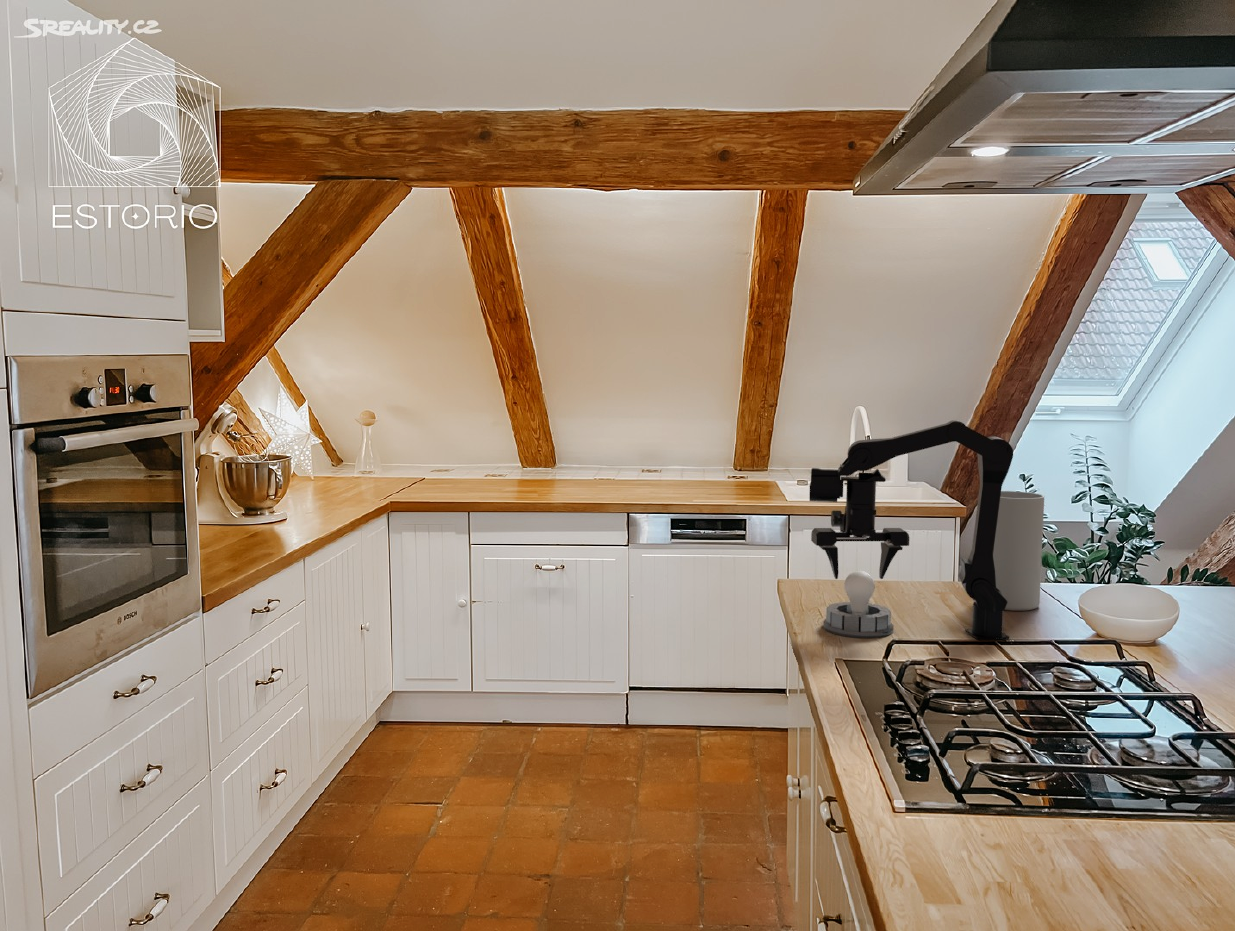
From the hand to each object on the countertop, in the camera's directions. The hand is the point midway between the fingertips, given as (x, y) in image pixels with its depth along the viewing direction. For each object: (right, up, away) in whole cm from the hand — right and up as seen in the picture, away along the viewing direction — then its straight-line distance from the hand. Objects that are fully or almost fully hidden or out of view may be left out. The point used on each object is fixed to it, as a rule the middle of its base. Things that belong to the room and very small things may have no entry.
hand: (858, 578), depth 198 cm
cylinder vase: (+39, -9, +20) cm, 45 cm away
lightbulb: (0, -10, +1) cm, 10 cm away
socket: (0, -10, +1) cm, 11 cm away
